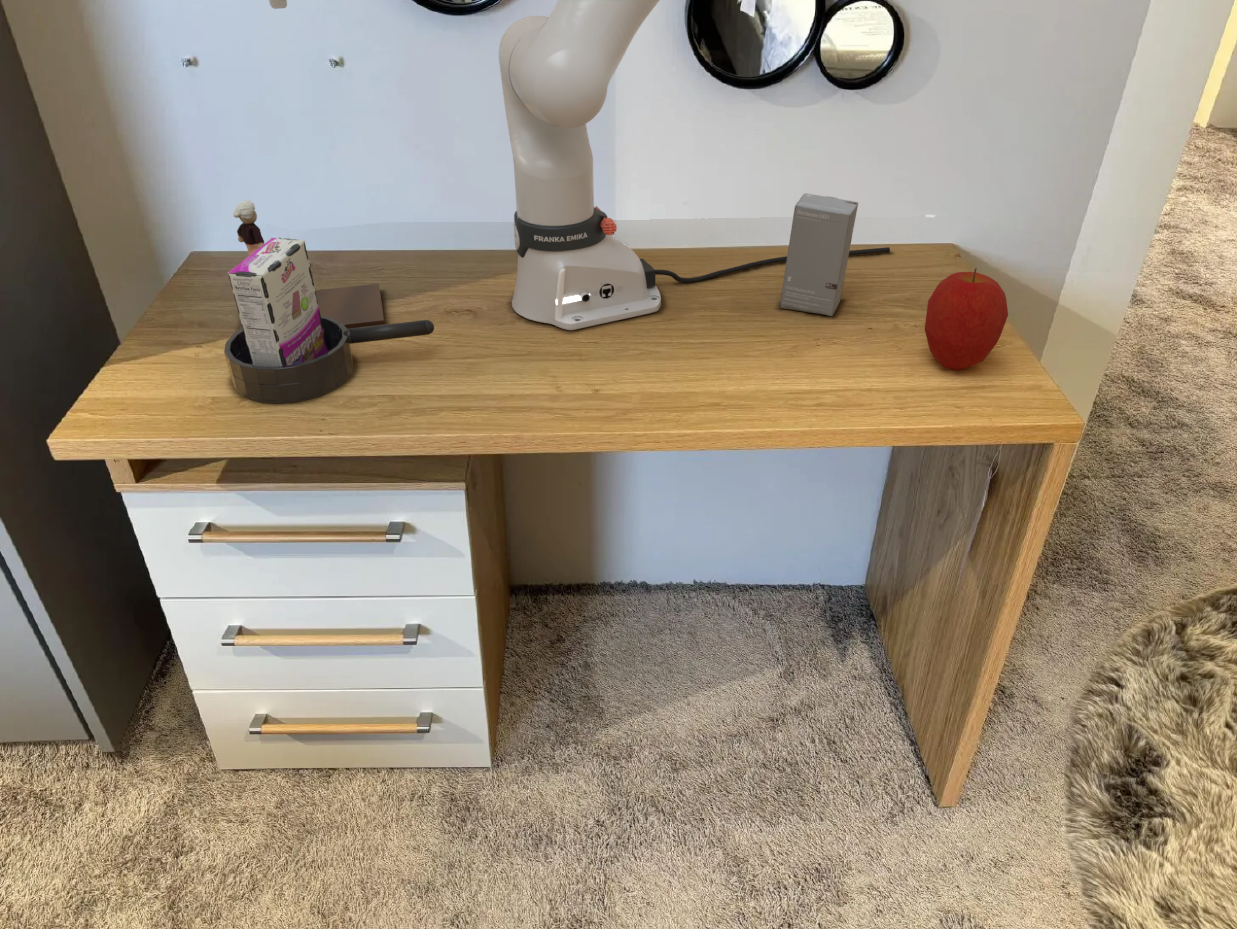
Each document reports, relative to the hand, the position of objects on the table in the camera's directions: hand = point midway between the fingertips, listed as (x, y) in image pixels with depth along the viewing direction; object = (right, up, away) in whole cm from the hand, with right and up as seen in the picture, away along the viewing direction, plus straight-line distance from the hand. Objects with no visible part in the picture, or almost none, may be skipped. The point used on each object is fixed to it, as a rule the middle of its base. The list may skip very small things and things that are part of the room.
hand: (275, 0), depth 111 cm
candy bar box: (-3, -42, +16) cm, 45 cm away
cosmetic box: (+69, -30, +34) cm, 83 cm away
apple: (+85, -40, +18) cm, 96 cm away
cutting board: (-5, -32, +30) cm, 44 cm away
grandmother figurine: (-17, -24, +41) cm, 51 cm away
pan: (-3, -42, +16) cm, 45 cm away
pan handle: (+9, -37, +17) cm, 42 cm away
